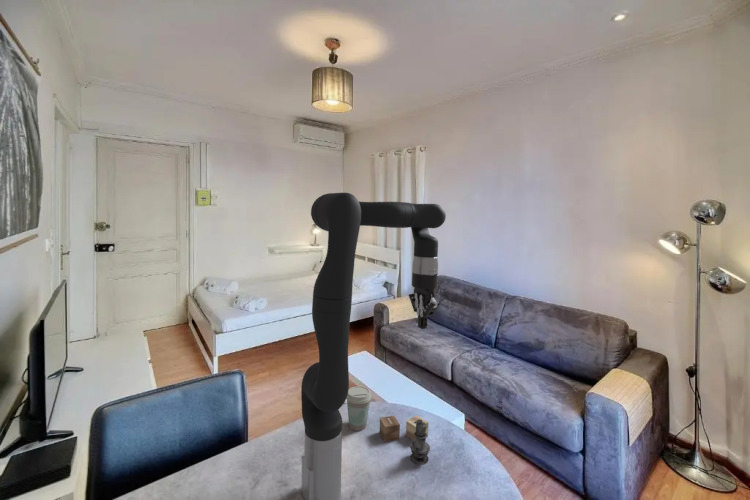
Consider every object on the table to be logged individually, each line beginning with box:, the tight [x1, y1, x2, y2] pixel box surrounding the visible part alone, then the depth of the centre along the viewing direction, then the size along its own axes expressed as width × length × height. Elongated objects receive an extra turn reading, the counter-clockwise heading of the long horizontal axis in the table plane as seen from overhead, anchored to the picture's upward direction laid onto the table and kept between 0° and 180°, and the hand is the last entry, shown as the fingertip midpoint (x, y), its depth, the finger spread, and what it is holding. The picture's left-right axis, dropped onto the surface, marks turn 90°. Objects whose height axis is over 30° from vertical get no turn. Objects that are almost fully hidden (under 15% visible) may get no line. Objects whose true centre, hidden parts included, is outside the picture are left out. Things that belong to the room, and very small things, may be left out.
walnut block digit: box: [379, 415, 401, 443], centre depth 110 cm, size 5×5×5 cm
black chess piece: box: [409, 420, 431, 466], centre depth 100 cm, size 6×6×12 cm
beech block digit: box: [405, 414, 430, 441], centre depth 110 cm, size 5×5×5 cm
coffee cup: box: [346, 385, 372, 432], centre depth 114 cm, size 8×8×12 cm
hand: (422, 328), depth 103 cm, fingers closed
